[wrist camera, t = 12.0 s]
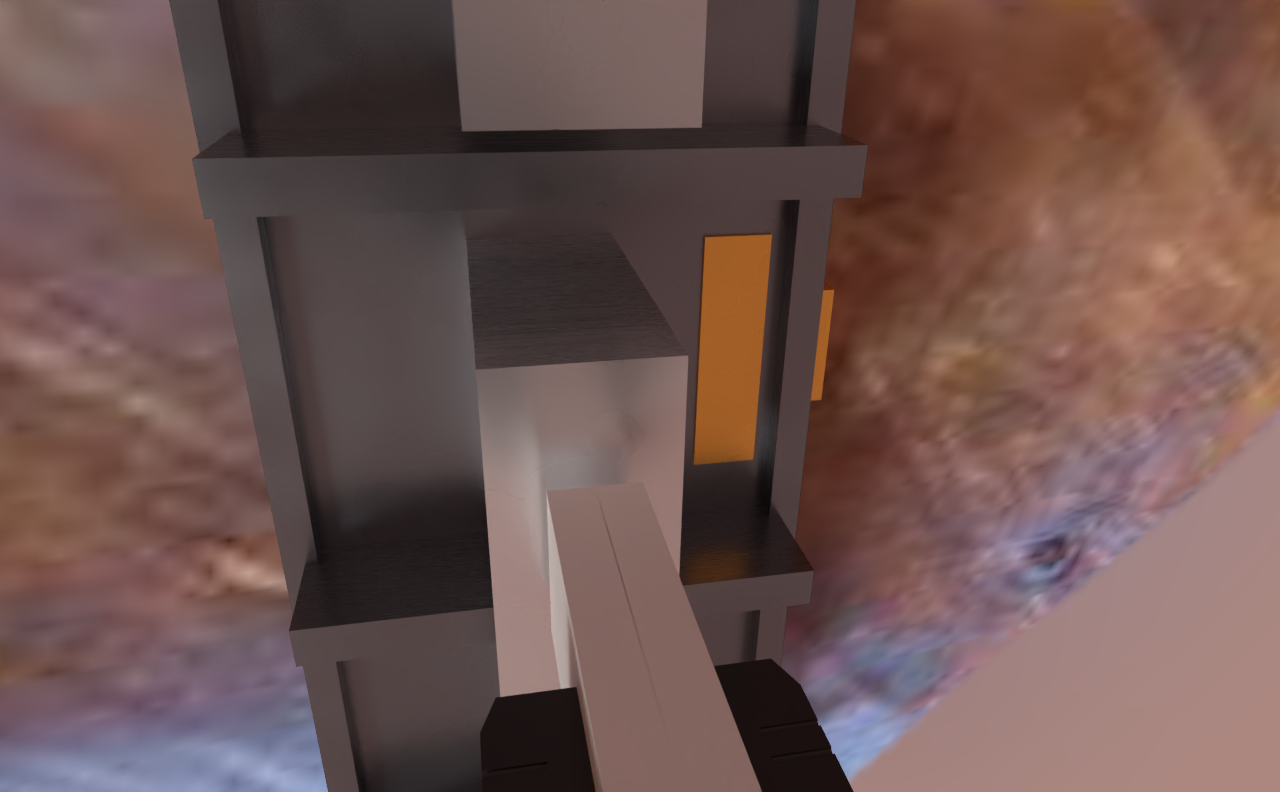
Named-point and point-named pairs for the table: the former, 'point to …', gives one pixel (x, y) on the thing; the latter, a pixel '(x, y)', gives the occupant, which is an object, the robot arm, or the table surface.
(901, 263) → the table surface
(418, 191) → the rack
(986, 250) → the table surface
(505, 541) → the panel
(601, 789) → the robot arm
